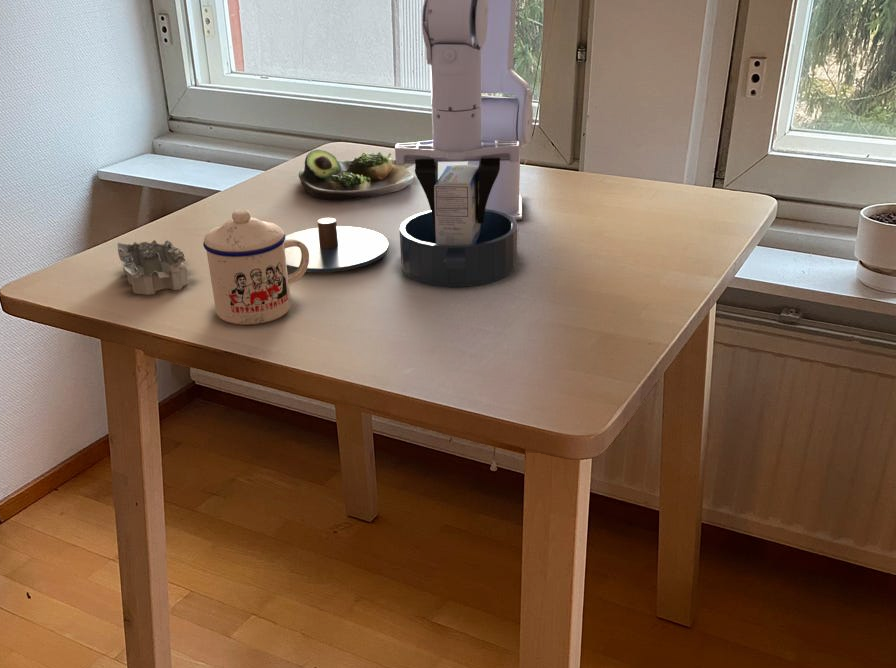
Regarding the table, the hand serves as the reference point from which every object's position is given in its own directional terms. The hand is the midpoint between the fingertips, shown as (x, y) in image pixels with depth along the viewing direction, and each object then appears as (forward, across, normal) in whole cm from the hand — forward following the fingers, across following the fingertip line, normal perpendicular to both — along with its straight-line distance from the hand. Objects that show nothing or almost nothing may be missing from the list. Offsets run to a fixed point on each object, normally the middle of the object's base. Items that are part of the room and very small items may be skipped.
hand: (458, 221), depth 123 cm
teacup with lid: (+6, -22, -13) cm, 26 cm away
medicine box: (+3, 0, 0) cm, 3 cm away
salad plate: (+6, -18, +34) cm, 39 cm away
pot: (+6, 0, 0) cm, 6 cm away
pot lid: (+5, -17, +4) cm, 18 cm away
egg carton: (+6, -38, -4) cm, 39 cm away
